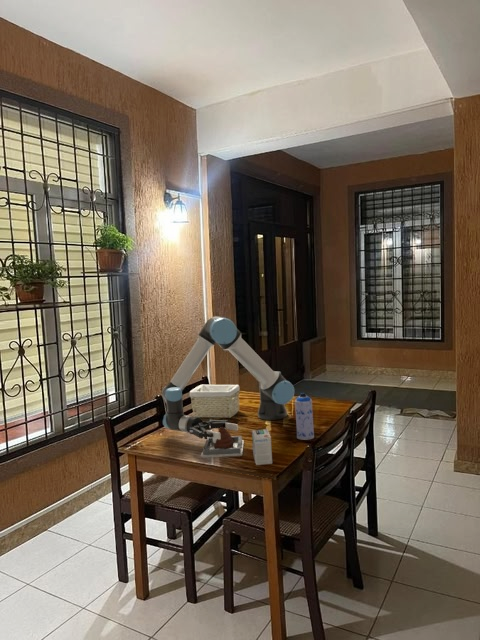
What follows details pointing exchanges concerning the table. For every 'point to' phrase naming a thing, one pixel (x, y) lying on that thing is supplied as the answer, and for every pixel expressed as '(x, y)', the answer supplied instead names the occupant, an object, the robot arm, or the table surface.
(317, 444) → the table surface
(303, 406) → the aerosol can
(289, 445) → the table surface
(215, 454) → the mousse holder
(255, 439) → the light bulb box
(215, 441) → the poop emoji
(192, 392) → the storage basket
